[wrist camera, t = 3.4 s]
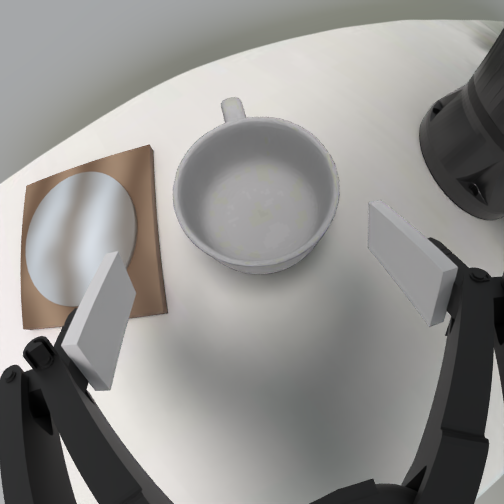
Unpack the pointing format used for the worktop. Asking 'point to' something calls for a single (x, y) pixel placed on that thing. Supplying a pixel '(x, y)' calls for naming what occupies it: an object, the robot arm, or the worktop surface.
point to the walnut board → (90, 236)
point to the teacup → (256, 192)
